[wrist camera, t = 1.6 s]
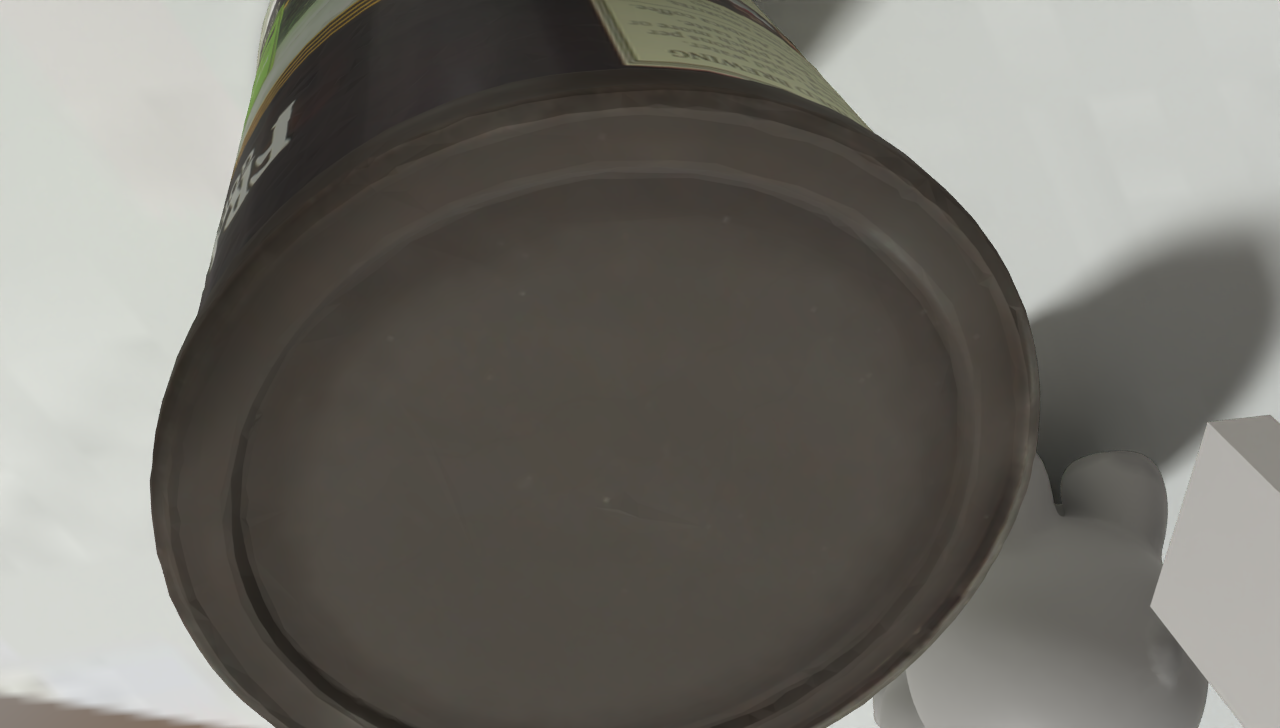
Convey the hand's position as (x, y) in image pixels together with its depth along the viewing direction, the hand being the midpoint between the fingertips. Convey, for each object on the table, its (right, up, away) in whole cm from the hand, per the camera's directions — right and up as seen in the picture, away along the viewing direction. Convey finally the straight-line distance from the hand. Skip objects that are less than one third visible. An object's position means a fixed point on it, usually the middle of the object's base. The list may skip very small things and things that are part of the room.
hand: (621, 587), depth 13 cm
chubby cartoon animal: (+9, -4, +23) cm, 25 cm away
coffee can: (-3, +8, +13) cm, 16 cm away
